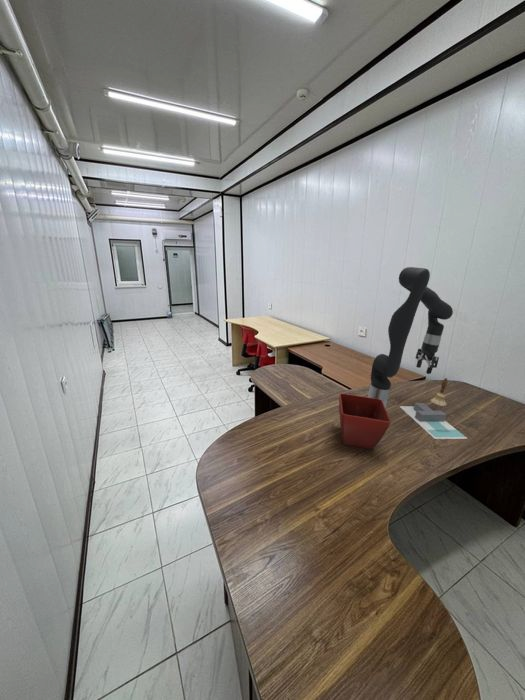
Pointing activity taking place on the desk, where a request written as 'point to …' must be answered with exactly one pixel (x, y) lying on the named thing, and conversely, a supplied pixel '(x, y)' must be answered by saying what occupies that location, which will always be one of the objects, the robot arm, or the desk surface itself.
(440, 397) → the hand bell
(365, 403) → the plant pot
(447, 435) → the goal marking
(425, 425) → the runner mat
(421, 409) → the t block
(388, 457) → the desk surface
